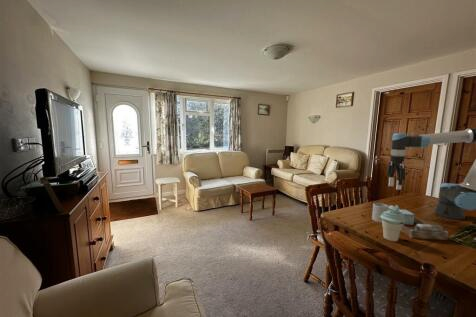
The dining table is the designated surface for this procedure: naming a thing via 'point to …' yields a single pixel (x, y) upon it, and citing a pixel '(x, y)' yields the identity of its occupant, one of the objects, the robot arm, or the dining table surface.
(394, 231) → the frozen yogurt cup
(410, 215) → the crate
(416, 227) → the bay
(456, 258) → the dining table surface
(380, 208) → the mug
